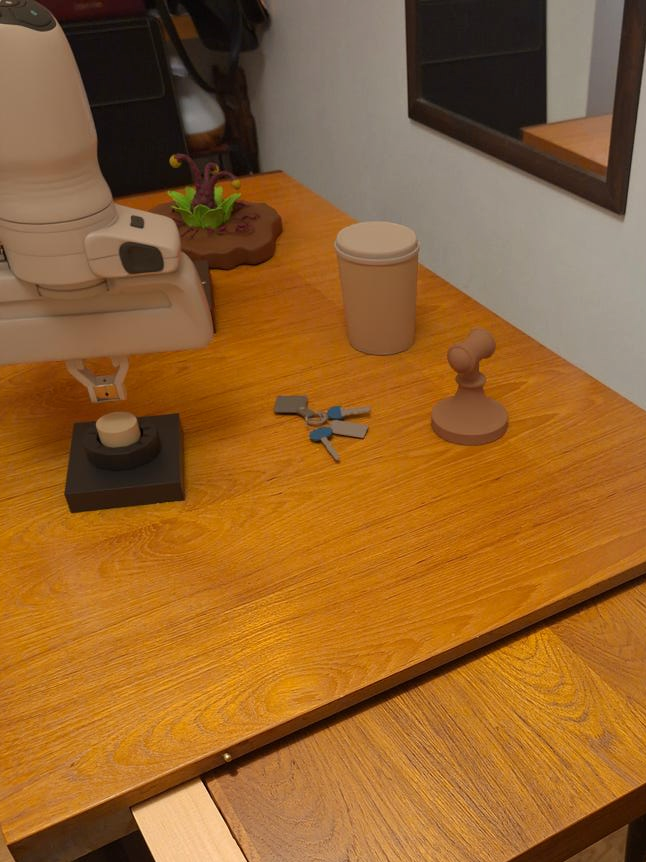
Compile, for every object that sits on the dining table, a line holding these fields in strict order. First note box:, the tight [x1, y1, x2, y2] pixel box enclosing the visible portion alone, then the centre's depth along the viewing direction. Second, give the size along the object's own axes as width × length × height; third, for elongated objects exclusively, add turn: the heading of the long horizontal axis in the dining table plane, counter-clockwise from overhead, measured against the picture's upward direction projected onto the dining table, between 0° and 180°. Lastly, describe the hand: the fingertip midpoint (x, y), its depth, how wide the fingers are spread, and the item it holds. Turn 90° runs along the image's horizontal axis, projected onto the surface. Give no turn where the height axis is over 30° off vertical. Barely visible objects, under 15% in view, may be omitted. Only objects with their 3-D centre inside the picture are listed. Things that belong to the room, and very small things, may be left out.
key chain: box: [273, 395, 372, 461], centre depth 93 cm, size 14×8×1 cm, turn 40°
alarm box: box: [63, 412, 186, 514], centre depth 85 cm, size 10×12×4 cm
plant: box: [146, 152, 283, 271], centre depth 121 cm, size 20×20×11 cm
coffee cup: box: [333, 220, 421, 356], centre depth 102 cm, size 9×9×12 cm
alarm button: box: [96, 411, 141, 448], centre depth 83 cm, size 4×4×2 cm
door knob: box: [430, 326, 509, 446], centre depth 91 cm, size 8×10×8 cm
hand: (109, 398), depth 81 cm, fingers closed
